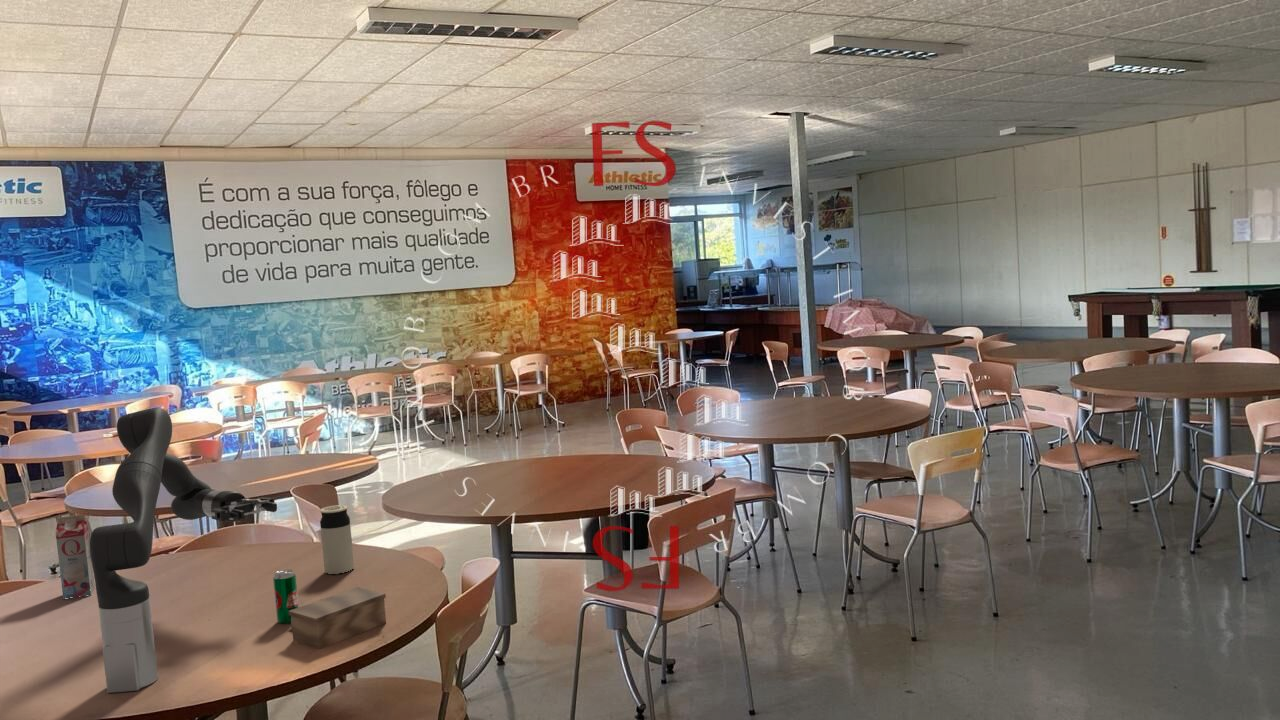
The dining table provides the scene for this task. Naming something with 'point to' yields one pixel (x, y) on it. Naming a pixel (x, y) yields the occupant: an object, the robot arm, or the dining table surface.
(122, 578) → the robot arm
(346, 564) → the travel mug
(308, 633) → the shoebox
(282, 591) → the soda can
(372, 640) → the dining table surface
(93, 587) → the juice carton
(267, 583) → the dining table surface
